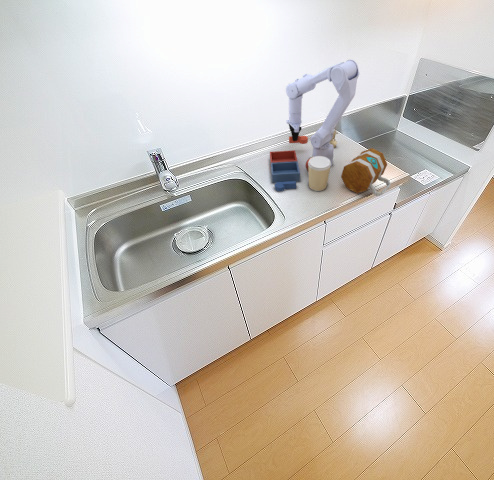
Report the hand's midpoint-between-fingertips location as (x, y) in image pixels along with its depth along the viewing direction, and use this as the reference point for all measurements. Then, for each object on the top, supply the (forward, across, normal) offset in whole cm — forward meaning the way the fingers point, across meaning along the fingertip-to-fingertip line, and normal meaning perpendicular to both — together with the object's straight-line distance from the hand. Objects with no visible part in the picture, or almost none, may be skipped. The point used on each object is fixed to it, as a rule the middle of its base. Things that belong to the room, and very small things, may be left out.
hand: (294, 139), depth 134 cm
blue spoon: (+7, +29, -7) cm, 31 cm away
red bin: (+6, +11, -7) cm, 14 cm away
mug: (+1, +37, +23) cm, 44 cm away
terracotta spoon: (+1, 0, +2) cm, 2 cm away
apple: (+7, +19, +7) cm, 21 cm away
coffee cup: (+7, +29, +7) cm, 31 cm away
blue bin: (+7, +21, -7) cm, 23 cm away
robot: (+7, -5, +17) cm, 19 cm away
